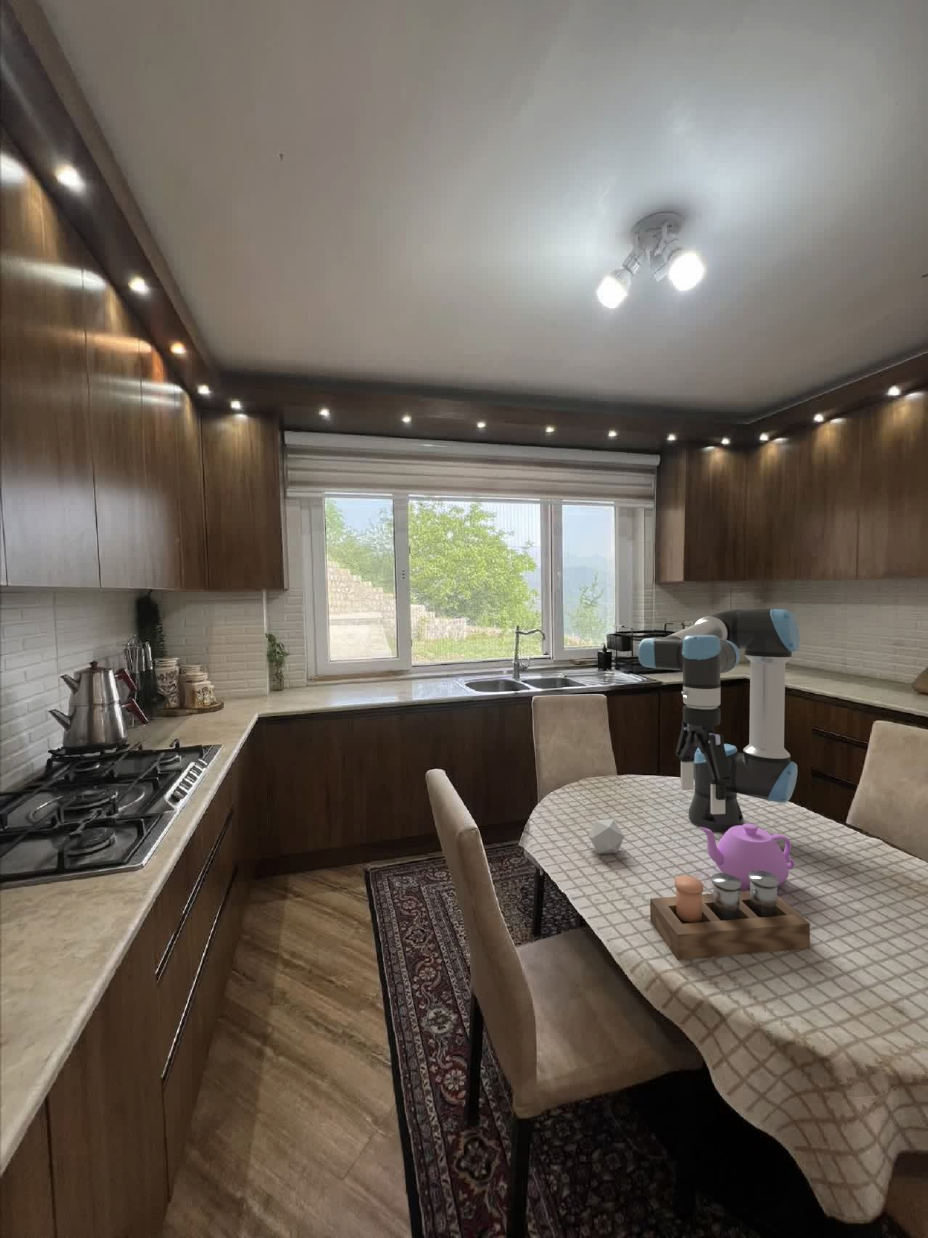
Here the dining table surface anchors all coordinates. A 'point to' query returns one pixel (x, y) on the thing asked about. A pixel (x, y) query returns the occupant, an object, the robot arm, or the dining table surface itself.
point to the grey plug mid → (726, 895)
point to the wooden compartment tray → (729, 929)
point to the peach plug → (689, 898)
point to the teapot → (749, 853)
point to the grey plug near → (763, 892)
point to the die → (606, 836)
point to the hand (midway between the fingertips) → (701, 800)
